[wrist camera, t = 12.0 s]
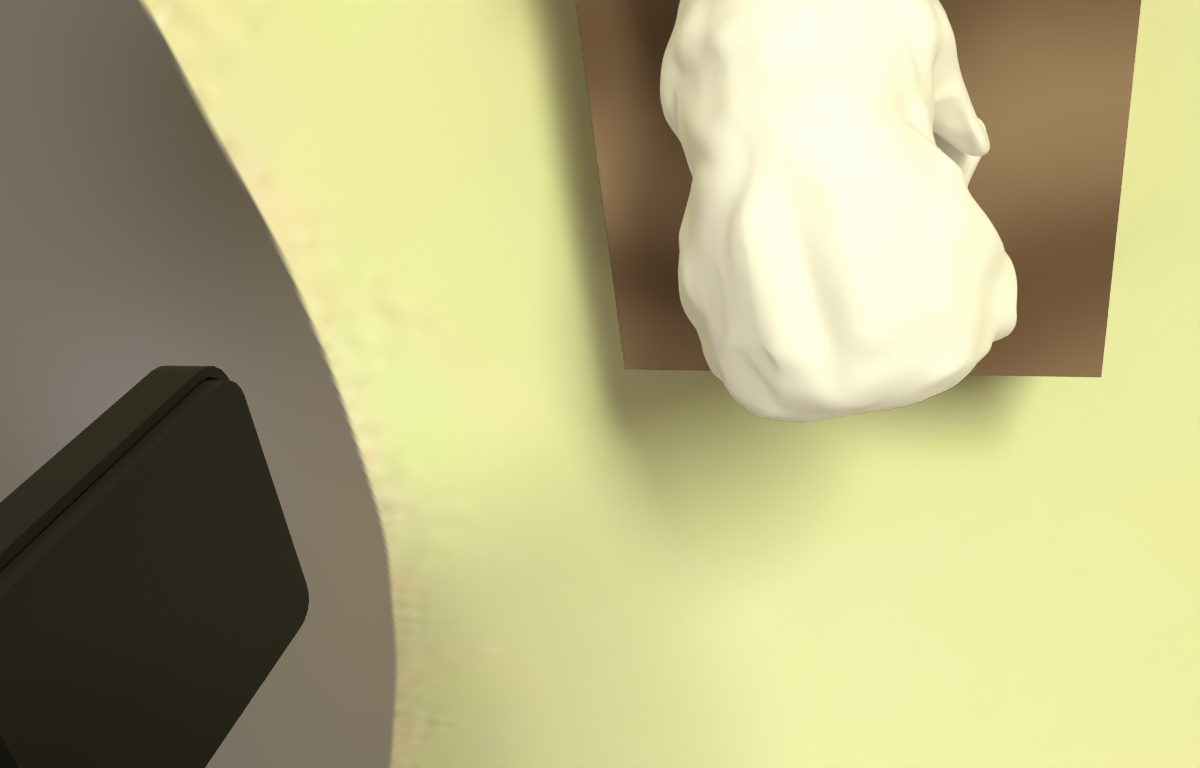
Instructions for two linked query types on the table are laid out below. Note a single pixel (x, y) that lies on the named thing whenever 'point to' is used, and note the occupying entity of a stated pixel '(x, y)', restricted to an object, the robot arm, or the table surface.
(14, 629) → the robot arm
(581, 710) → the table surface
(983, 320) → the white animal figurine
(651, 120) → the display ledge
